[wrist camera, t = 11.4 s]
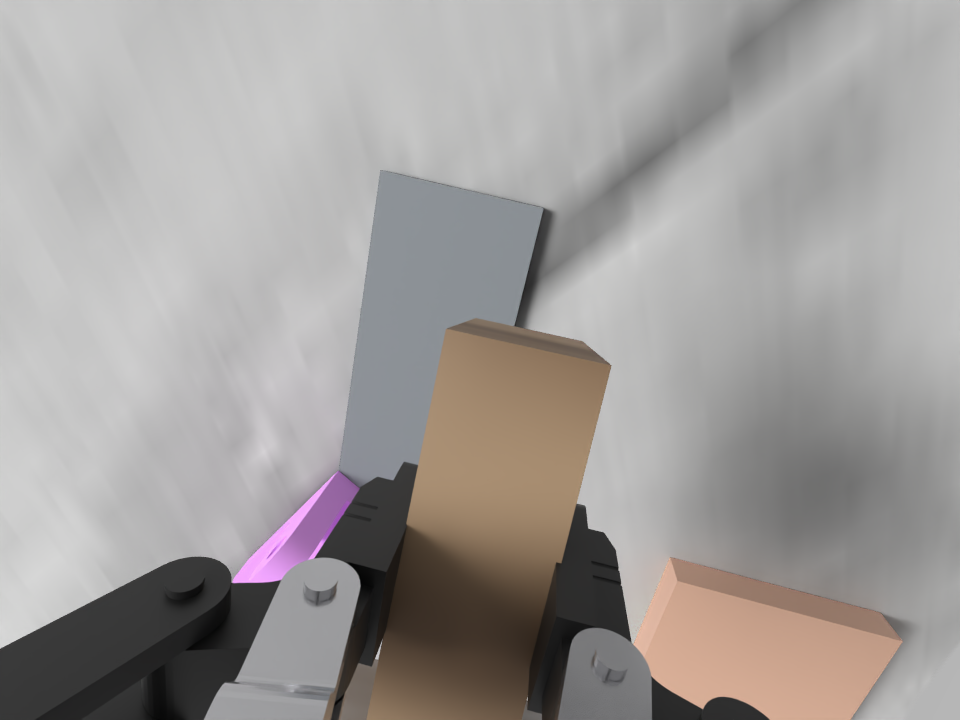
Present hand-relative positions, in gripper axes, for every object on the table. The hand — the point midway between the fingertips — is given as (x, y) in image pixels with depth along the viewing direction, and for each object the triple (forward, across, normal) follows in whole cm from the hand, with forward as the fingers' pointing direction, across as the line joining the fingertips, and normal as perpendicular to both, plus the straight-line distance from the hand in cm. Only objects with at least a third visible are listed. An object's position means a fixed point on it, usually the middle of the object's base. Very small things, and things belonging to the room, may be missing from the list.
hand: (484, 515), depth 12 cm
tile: (+14, -17, +11) cm, 25 cm away
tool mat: (+15, +5, +2) cm, 16 cm away
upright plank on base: (+2, 0, +2) cm, 3 cm away
